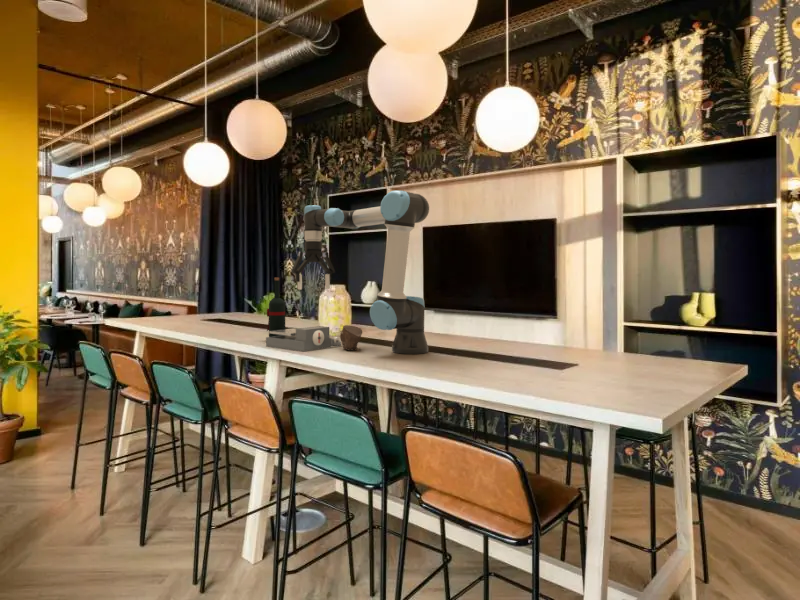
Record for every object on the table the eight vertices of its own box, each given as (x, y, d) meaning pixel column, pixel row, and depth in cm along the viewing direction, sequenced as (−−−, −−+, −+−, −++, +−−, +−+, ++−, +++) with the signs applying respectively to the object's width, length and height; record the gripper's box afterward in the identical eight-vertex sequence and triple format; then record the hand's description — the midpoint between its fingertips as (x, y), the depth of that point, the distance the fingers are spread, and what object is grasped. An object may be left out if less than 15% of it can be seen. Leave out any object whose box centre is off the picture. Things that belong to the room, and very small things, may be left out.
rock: (366, 340, 224) (347, 327, 221) (352, 359, 225) (332, 347, 223) (365, 330, 235) (346, 317, 233) (351, 348, 237) (332, 336, 234)
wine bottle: (274, 339, 260) (273, 277, 258) (289, 341, 255) (289, 277, 253) (261, 341, 254) (261, 277, 252) (277, 343, 248) (276, 277, 246)
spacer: (343, 345, 243) (343, 336, 242) (335, 346, 239) (335, 337, 238) (335, 344, 246) (335, 335, 245) (327, 345, 242) (327, 337, 241)
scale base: (332, 347, 236) (332, 327, 236) (305, 351, 223) (305, 330, 223) (293, 342, 251) (293, 323, 251) (266, 346, 238) (265, 326, 238)
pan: (314, 335, 241) (314, 330, 241) (290, 338, 230) (290, 333, 230) (293, 332, 249) (293, 328, 249) (269, 335, 238) (269, 331, 238)
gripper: (334, 242, 249) (334, 288, 250) (283, 240, 235) (284, 289, 236) (342, 241, 243) (342, 288, 244) (290, 239, 229) (291, 289, 230)
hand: (313, 289), depth 240 cm, fingers open, 13 cm apart
